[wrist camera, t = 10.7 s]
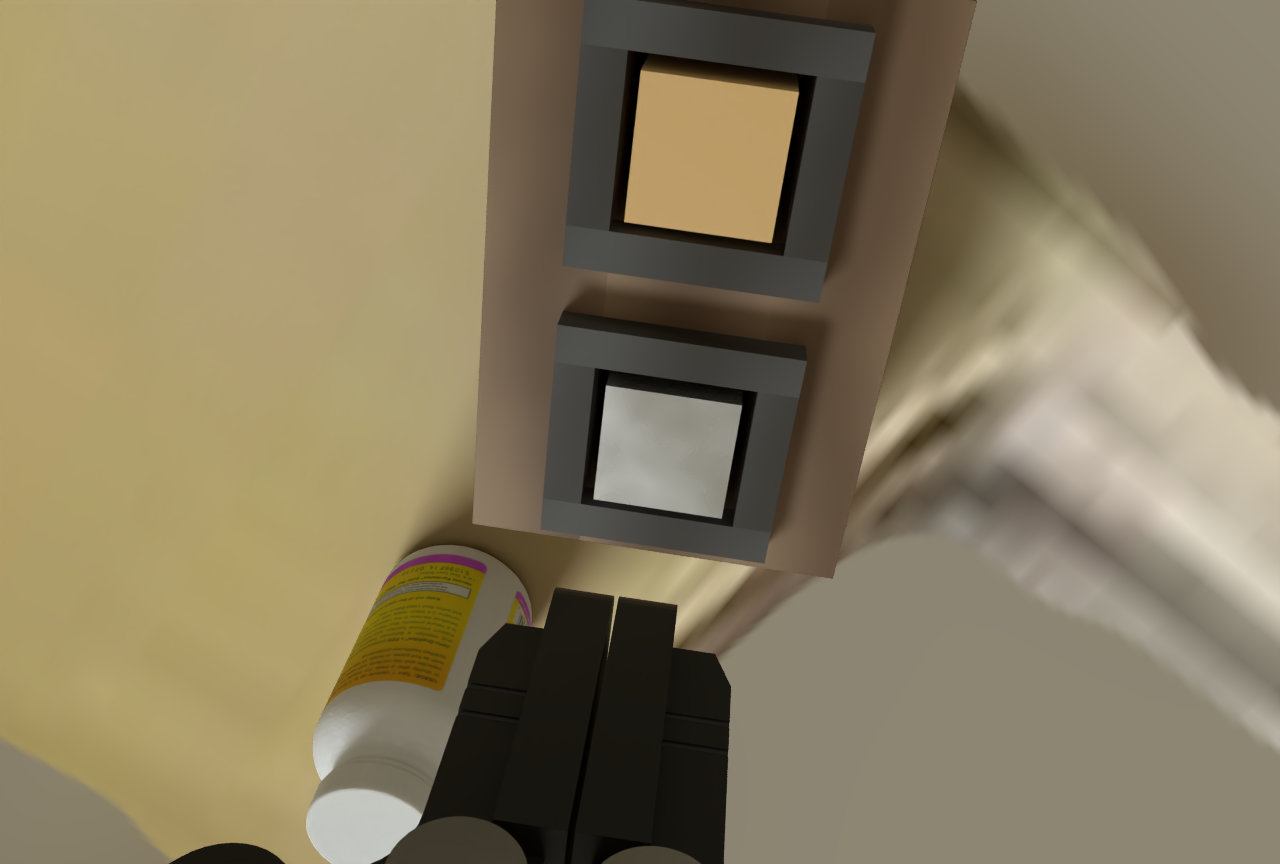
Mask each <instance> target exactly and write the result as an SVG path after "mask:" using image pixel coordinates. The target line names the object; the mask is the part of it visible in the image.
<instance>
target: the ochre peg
mask: <svg viewBox="0 0 1280 864" xmlns="http://www.w3.org/2000/svg"><path fill="white" fill-rule="evenodd" d="M798 95H799V88H798V77H797V73H790V72H783V71H775V70H768V69H761V68H754V67H747V66H739V65H732V64H725V63H718V62H710V61H703V60H696V59H689V58H682V57H674V56H667V55H660V54H653V53H649V54H648V56H647V58H646V61H645V63H644V65H643V67H642V69H641V74H640V83H639V92H638V101H637V110H636V119H635V128H634V137H633V146H632V155H631V164H630V173H629V182H628V191H627V200H626V209H625V219H624V222H628V223H634V224H641V225H648V226H655V227H662V228H669V229H676V230H683V231H690V232H697V233H704V234H711V235H718V236H725V237H732V238H739V239H746V240H753V241H760V242H767V243H772V238H773V233H774V227H775V222H776V216H777V211H778V205H779V200H780V194H781V189H782V183H783V177H784V172H785V166H786V161H787V155H788V150H789V144H790V139H791V133H792V128H793V122H794V117H795V111H796V106H797V100H798Z"/></svg>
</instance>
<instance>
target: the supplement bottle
mask: <svg viewBox="0 0 1280 864" xmlns="http://www.w3.org/2000/svg"><path fill="white" fill-rule="evenodd" d="M505 623H510V624H516V625H523V626H530V627H531V624H532V609H531V603H530V599H529V596H528V594H527V591H526V589H525V587H524V586H523V584H522V583H521V581H520V580H519V579H518V577H517V576H516V575H515V574H514V573H513V572H512V571H511V570H510V569H509V568H508V567H507V566H506V565H504V564H503V563H502V562H500V561H499V560H497V559H496V558H494V557H492V556H490V555H489V554H487V553H484V552H482V551H479V550H477V549H473V548H469V547H465V546H458V545H438V546H431V547H428V548H424V549H421V550H418V551H416V552H414V553H412V554H410V555H408V556H407V557H405V558H404V559H403V560H401V561H400V562H399V563H398V564H397V565H396V566H395V567H394V568H393V570H392V571H391V572H390V574H389V575H388V577H387V579H386V581H385V583H384V584H383V586H382V588H381V591H380V593H379V595H378V597H377V599H376V601H375V603H374V605H373V607H372V610H371V612H370V613H369V616H368V618H367V620H366V622H365V624H364V626H363V628H362V630H361V632H360V635H359V637H358V639H357V641H356V643H355V645H354V647H353V650H352V652H351V654H350V656H349V658H348V660H347V662H346V664H345V666H344V668H343V670H342V673H341V675H340V677H339V679H338V681H337V683H336V685H335V687H334V689H333V691H332V694H331V696H330V698H329V700H328V702H327V704H326V706H325V708H324V710H323V712H322V715H321V717H320V719H319V722H318V724H317V726H316V730H315V734H314V739H313V758H314V763H315V766H316V770H317V772H318V775H319V777H320V779H321V783H320V784H319V786H318V788H317V791H316V793H315V795H314V798H313V800H312V802H311V804H310V807H309V810H308V813H307V818H306V828H307V833H308V836H309V838H310V840H311V842H312V844H313V845H314V847H315V848H316V849H317V850H318V852H319V853H320V854H321V855H322V856H323V857H324V858H325V859H326V860H328V861H329V862H330V863H332V864H371V863H373V862H375V861H378V860H380V859H382V858H383V857H385V856H387V855H388V854H390V853H391V851H392V849H393V848H394V847H395V846H396V844H397V843H398V842H399V841H400V840H401V839H402V838H403V837H404V836H405V835H407V834H408V833H409V832H410V831H412V830H414V829H415V828H416V827H417V825H418V824H419V821H420V819H421V817H422V815H423V812H424V809H425V806H426V803H427V800H428V797H429V794H430V791H431V789H432V786H433V783H434V780H435V777H436V774H437V771H438V768H439V765H440V762H441V759H442V756H443V753H444V750H445V747H446V744H447V741H448V739H449V736H450V733H451V730H452V727H453V724H454V721H455V718H456V716H457V715H458V710H459V706H460V703H461V700H462V697H463V694H464V691H465V688H467V684H468V680H469V677H470V674H471V671H472V668H473V665H474V662H475V659H476V656H477V653H478V650H479V648H480V647H482V646H483V645H484V644H485V643H486V642H487V641H488V640H489V639H490V638H491V637H492V636H493V635H494V634H495V633H496V632H497V631H498V630H499V629H500V628H501V627H502V626H503V625H504V624H505Z"/></svg>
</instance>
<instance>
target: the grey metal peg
mask: <svg viewBox="0 0 1280 864" xmlns="http://www.w3.org/2000/svg"><path fill="white" fill-rule="evenodd" d="M742 398H743V390H741V389H734V388H728V387H721V386H714V385H707V384H701V383H694V382H687V381H680V380H673V379H667V378H660V377H653V376H646V375H640V374H633V373H626V372H619V371H612V370H610V373H609V377H608V380H607V384H606V391H605V400H604V409H603V418H602V427H601V436H600V445H599V454H598V463H597V472H596V481H595V490H594V499H595V500H602V501H608V502H615V503H622V504H628V505H635V506H641V507H648V508H655V509H661V510H668V511H675V512H681V513H688V514H694V515H701V516H708V517H714V518H721V519H722V514H723V508H724V503H725V497H726V492H727V486H728V481H729V475H730V470H731V464H732V459H733V453H734V448H735V442H736V437H737V431H738V426H739V420H740V415H741V409H742Z"/></svg>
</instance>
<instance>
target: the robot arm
mask: <svg viewBox="0 0 1280 864" xmlns="http://www.w3.org/2000/svg"><path fill="white" fill-rule="evenodd" d="M613 606H614V596H611V595H604V594H598V593H591V592H584V591H577V590H571V589H564V588H557V587H556V588H555V590H554V593H553V597H552V600H551V604H550V608H549V611H548V615H547V619H546V623H545V626H544V629H543V628H536V627H530V626H523V625H516V624H510V623H505V624H504V625H503V626H502V627H501V628H500V629H499V630H498V631H497V632H496V633H495V634H494V635H493V636H492V637H491V638H490V639H489V640H488V641H487V642H486V643H485V644H484V645H483V646H482V647H480V648H479V650H478V653H477V656H476V659H475V662H474V665H473V668H472V671H471V674H470V677H469V680H468V684H467V688H465V691H464V694H463V697H462V700H461V703H460V706H459V710H458V715H457V716H456V718H455V721H454V724H453V727H452V730H451V733H450V736H449V739H448V741H447V744H446V747H445V750H444V753H443V756H442V759H441V762H440V765H439V768H438V771H437V774H436V777H435V780H434V783H433V786H432V789H431V791H430V794H429V797H428V800H427V803H426V806H425V809H424V812H423V815H422V817H421V819H420V821H419V824H418V825H417V827H416V828H415V829H414V830H412V831H410V832H409V833H408V834H407V835H405V836H404V837H403V838H402V839H401V840H400V841H399V842H398V843H397V844H396V846H395V847H394V848H393V849H392V851H391V853H390V854H388V855H387V856H385V857H383V858H382V859H380V860H378V861H375V862H373V863H371V864H724V841H725V817H726V793H727V770H728V746H729V722H730V699H731V686H730V684H729V682H728V680H727V678H726V676H725V673H724V671H723V669H722V667H721V665H720V663H719V661H718V659H717V657H716V655H715V654H712V653H705V652H699V651H692V650H685V649H678V648H673V641H674V633H675V624H676V615H677V605H673V604H667V603H660V602H653V601H647V600H640V599H633V598H626V597H620V596H619V599H618V604H617V610H616V615H615V620H614V626H613V631H612V636H611V642H610V647H609V639H610V631H611V623H612V614H613ZM608 647H609V652H608ZM607 656H608V658H607ZM169 864H285V863H284V862H283V861H282V860H281V859H279V858H278V857H277V856H276V855H274V854H273V853H271V852H269V851H268V850H266V849H263V848H260V847H258V846H254V845H249V844H243V843H224V844H216V845H212V846H207V847H203V848H201V849H198V850H195V851H192V852H190V853H188V854H186V855H184V856H182V857H180V858H178V859H176V860H175V861H173V862H171V863H169Z"/></svg>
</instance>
